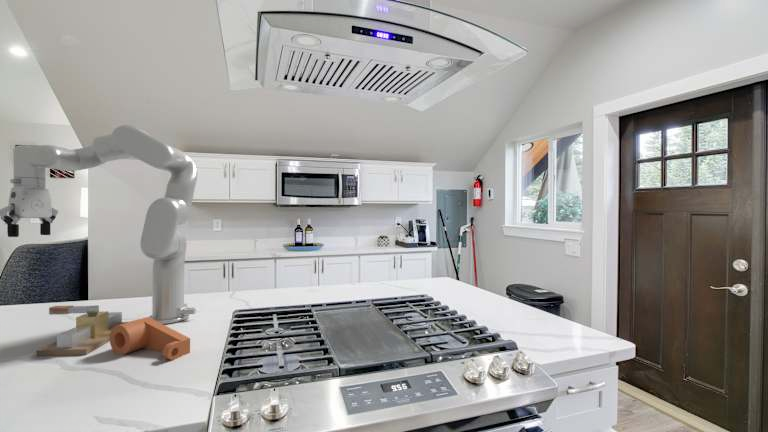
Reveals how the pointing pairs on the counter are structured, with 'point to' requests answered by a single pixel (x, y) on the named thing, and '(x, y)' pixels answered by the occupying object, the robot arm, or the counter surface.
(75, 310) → the lever
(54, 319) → the counter surface
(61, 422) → the counter surface
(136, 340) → the crank
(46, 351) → the walnut board
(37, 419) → the counter surface
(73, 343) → the valve body
